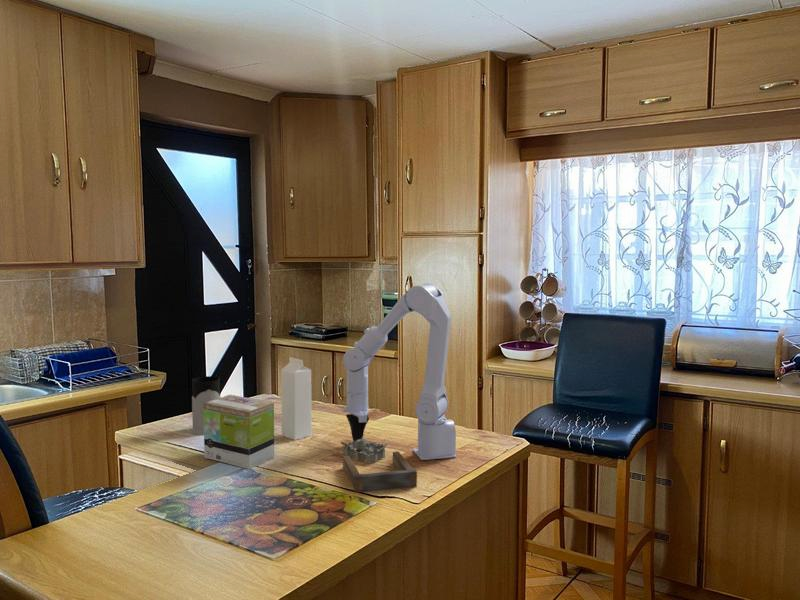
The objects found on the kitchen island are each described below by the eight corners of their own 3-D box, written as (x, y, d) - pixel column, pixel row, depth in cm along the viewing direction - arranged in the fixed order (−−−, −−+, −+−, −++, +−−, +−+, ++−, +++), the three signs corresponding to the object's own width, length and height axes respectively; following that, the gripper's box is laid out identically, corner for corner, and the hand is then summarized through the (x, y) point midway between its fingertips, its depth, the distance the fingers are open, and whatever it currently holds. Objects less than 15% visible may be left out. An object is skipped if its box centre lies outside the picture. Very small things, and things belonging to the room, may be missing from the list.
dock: (398, 463, 159) (398, 449, 158) (416, 486, 144) (416, 471, 143) (342, 468, 155) (342, 454, 154) (355, 492, 140) (355, 477, 140)
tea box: (202, 459, 160) (201, 401, 158) (230, 448, 169) (229, 393, 167) (249, 470, 153) (248, 410, 151) (276, 457, 162) (275, 400, 160)
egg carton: (338, 457, 163) (338, 441, 163) (357, 449, 169) (357, 434, 169) (371, 466, 157) (371, 449, 157) (389, 457, 163) (389, 442, 163)
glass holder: (194, 436, 178) (192, 383, 176) (185, 423, 190) (184, 373, 189) (225, 432, 182) (224, 380, 180) (215, 419, 194) (214, 371, 193)
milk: (294, 440, 175) (293, 361, 173) (281, 435, 179) (280, 358, 177) (312, 435, 180) (311, 358, 177) (298, 431, 184) (297, 355, 181)
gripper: (338, 386, 177) (338, 434, 178) (347, 399, 163) (347, 451, 164) (362, 385, 179) (362, 432, 180) (374, 397, 165) (374, 448, 166)
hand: (357, 441), depth 172 cm, fingers closed
